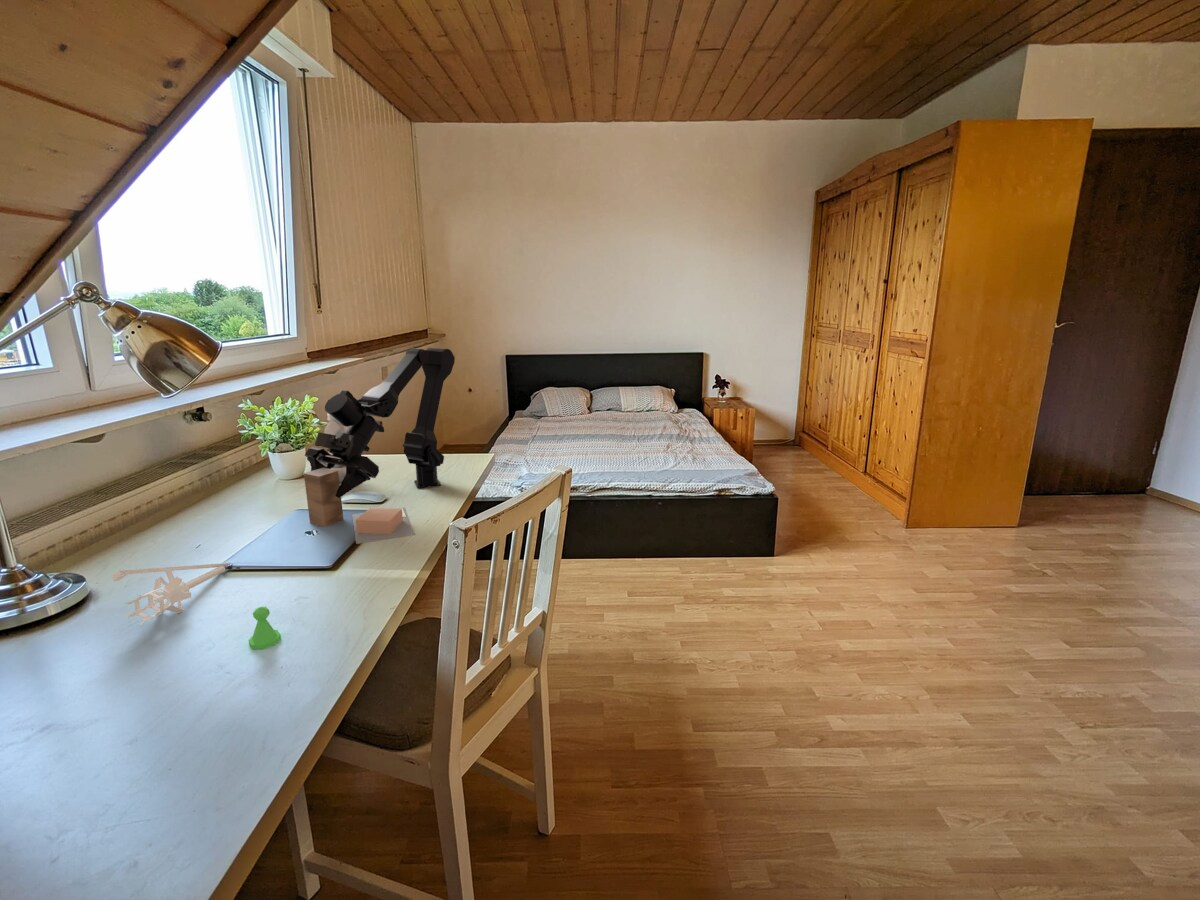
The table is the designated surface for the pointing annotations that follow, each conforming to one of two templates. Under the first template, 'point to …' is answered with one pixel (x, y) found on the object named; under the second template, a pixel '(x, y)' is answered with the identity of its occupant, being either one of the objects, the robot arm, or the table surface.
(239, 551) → the table surface
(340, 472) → the plastic bottle
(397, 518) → the plinth
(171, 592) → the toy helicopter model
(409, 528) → the base board
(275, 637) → the game piece
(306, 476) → the pillar
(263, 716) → the table surface
